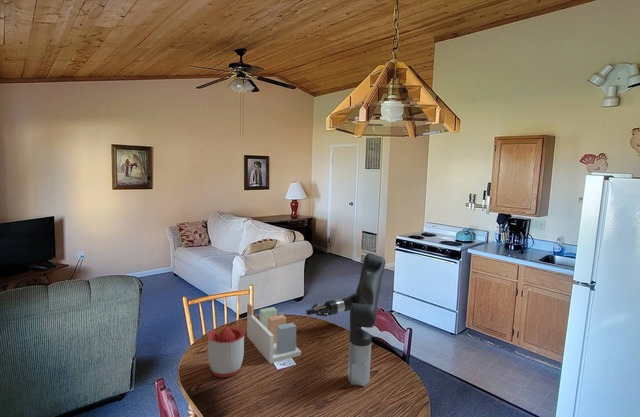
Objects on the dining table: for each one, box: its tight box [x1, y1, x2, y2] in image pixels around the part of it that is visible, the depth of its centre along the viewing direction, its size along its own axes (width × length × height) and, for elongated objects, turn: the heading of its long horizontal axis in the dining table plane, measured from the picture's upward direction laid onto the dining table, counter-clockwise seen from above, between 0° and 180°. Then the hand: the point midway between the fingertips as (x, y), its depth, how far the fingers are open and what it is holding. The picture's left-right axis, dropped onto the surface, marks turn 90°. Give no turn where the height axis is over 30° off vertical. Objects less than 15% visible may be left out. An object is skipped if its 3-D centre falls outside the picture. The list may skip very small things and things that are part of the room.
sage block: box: [258, 306, 278, 329], centre depth 197 cm, size 8×4×12 cm, turn 121°
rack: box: [246, 302, 302, 364], centre depth 186 cm, size 16×30×18 cm, turn 31°
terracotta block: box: [268, 314, 287, 343], centre depth 187 cm, size 8×4×12 cm, turn 121°
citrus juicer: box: [207, 325, 246, 379], centre depth 163 cm, size 16×17×20 cm
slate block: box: [277, 322, 297, 354], centre depth 178 cm, size 8×4×12 cm, turn 121°
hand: (307, 312), depth 196 cm, fingers closed
